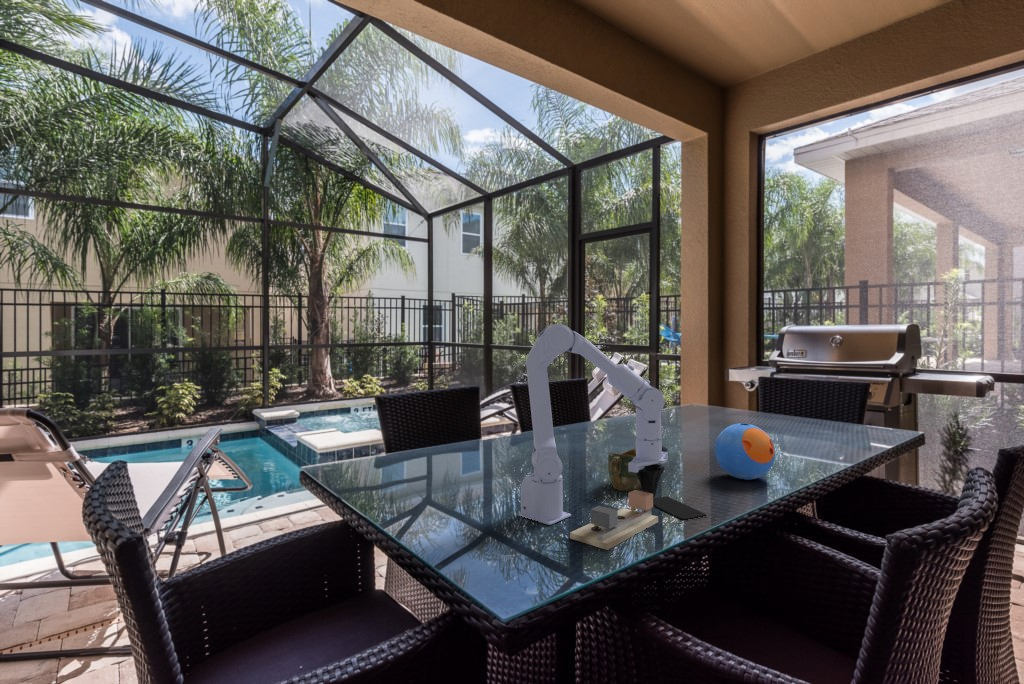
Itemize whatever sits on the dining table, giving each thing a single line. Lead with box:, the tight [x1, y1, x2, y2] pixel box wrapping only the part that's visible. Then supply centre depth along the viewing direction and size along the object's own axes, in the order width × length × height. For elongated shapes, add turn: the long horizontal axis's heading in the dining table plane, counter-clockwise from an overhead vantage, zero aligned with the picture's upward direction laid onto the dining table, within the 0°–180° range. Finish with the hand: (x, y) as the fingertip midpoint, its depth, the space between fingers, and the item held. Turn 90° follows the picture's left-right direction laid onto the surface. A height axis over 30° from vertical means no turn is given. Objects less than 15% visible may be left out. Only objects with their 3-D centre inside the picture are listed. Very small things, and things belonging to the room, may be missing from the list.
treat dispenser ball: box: [714, 422, 776, 481], centre depth 151 cm, size 16×15×15 cm
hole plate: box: [569, 507, 659, 551], centre depth 115 cm, size 9×20×1 cm, turn 136°
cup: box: [607, 448, 642, 493], centre depth 147 cm, size 13×20×10 cm, turn 118°
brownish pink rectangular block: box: [627, 490, 654, 511], centre depth 121 cm, size 5×3×4 cm, turn 47°
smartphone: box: [653, 496, 707, 521], centre depth 127 cm, size 7×1×15 cm
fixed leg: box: [590, 505, 619, 529], centre depth 111 cm, size 5×3×4 cm, turn 46°
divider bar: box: [597, 509, 652, 541], centre depth 113 cm, size 1×19×1 cm, turn 137°
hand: (649, 497), depth 124 cm, fingers closed
